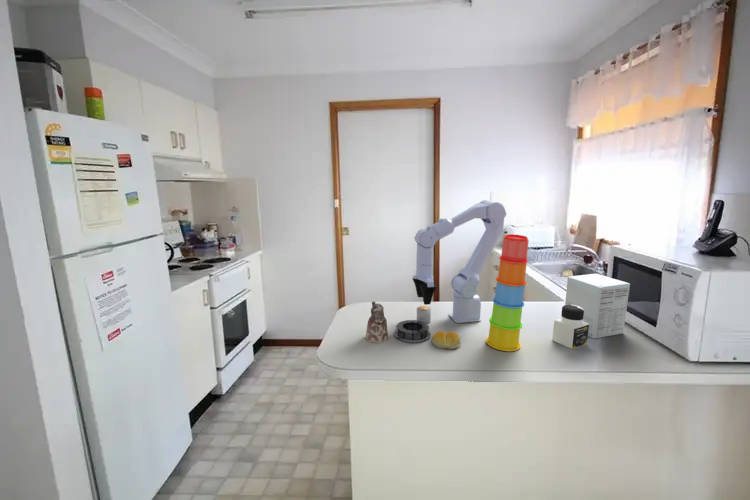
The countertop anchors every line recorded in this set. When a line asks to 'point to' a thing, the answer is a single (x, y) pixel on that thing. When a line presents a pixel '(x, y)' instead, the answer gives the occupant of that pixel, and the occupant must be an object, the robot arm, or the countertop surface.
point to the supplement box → (599, 302)
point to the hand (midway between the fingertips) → (423, 300)
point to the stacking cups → (509, 295)
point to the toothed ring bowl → (412, 331)
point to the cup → (424, 314)
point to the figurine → (377, 325)
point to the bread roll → (446, 340)
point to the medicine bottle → (571, 327)
